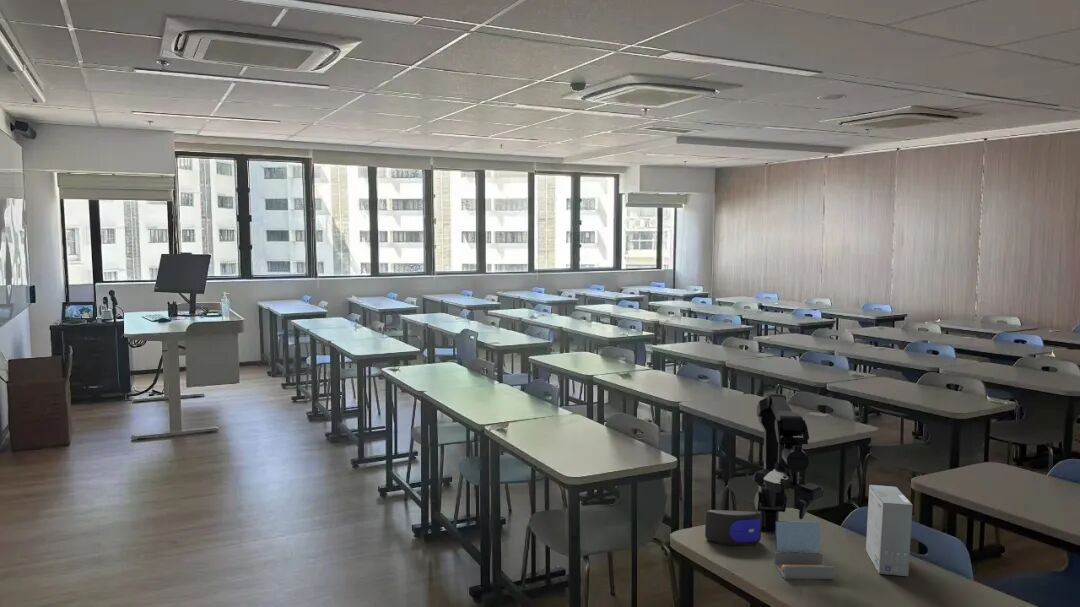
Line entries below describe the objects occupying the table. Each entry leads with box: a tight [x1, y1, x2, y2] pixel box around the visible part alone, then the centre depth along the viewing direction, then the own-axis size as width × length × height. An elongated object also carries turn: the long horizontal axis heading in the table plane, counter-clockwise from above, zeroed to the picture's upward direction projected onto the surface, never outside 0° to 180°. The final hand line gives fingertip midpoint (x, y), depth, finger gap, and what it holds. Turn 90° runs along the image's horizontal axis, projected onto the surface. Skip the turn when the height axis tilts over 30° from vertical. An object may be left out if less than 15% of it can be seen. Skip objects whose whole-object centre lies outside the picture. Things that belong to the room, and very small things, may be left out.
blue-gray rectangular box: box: [774, 520, 821, 553], centre depth 197 cm, size 8×12×1 cm
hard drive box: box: [865, 484, 914, 577], centre depth 198 cm, size 16×8×20 cm, turn 168°
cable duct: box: [773, 552, 835, 581], centre depth 193 cm, size 9×13×4 cm, turn 90°
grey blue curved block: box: [704, 509, 762, 547], centre depth 211 cm, size 16×5×9 cm, turn 84°
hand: (786, 513), depth 199 cm, fingers open, 9 cm apart
